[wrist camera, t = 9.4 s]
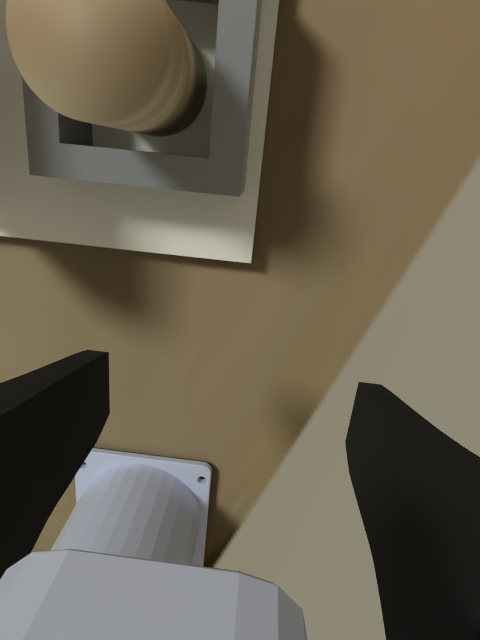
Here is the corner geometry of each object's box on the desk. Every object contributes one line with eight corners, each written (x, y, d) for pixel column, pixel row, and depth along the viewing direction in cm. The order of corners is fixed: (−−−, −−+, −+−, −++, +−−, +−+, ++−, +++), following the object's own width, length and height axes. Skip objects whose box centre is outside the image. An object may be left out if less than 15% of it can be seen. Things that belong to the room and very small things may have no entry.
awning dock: (251, 258, 20) (238, 321, 12) (-34, 227, 21) (-225, 269, 13) (292, -125, 15) (314, -435, 7) (-85, -154, 16) (-451, -476, 8)
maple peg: (200, 144, 18) (157, 134, 11) (106, 128, 18) (8, 108, 11) (213, 32, 16) (173, -54, 10) (110, 15, 16) (2, -83, 10)
